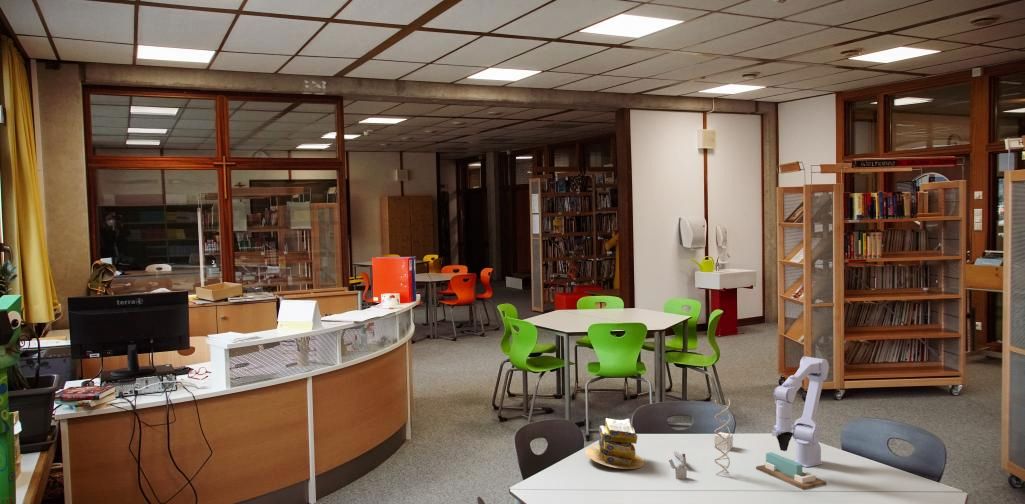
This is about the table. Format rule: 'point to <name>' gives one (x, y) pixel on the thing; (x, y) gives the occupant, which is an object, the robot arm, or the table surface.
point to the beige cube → (723, 446)
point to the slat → (784, 464)
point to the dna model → (723, 437)
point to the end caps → (798, 478)
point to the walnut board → (791, 478)
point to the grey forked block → (679, 470)
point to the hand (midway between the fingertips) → (783, 450)
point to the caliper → (681, 457)
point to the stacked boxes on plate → (616, 445)
